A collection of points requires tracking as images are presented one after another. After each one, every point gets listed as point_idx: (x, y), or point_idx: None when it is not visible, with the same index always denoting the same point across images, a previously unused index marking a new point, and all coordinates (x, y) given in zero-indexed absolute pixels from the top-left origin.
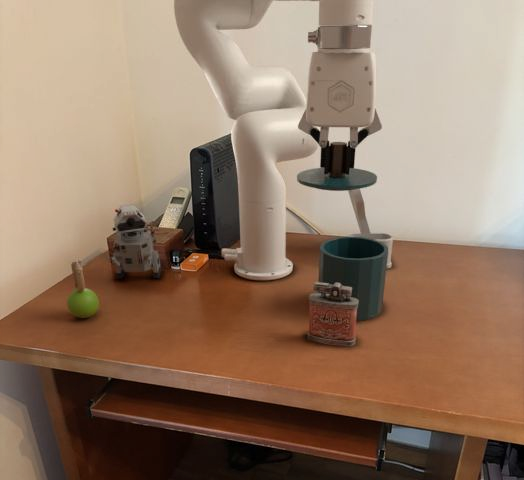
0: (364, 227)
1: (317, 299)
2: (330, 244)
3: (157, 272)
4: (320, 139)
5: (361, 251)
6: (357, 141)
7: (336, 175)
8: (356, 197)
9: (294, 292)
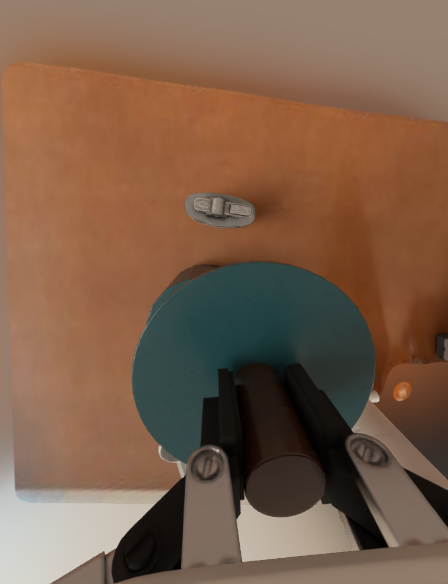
0: None
1: (242, 203)
2: None
3: (444, 338)
4: (398, 470)
5: None
6: (187, 479)
7: (257, 366)
8: None
9: None
